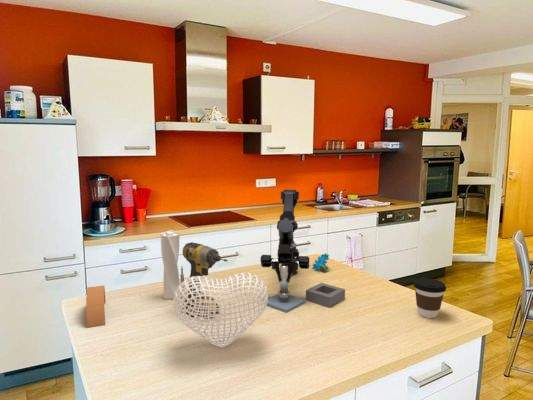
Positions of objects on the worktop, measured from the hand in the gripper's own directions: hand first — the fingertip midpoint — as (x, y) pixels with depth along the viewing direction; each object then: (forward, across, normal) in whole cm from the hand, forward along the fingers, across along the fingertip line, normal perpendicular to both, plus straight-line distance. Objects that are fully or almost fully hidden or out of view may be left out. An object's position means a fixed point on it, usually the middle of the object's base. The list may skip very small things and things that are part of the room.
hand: (283, 282), depth 149 cm
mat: (+6, 0, +7) cm, 9 cm away
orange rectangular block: (+18, -66, -5) cm, 68 cm away
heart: (+30, -16, -17) cm, 38 cm away
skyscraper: (+5, -44, +9) cm, 45 cm away
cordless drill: (+15, -27, -2) cm, 31 cm away
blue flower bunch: (-24, +15, +37) cm, 47 cm away
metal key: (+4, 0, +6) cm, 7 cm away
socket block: (+2, +16, +11) cm, 20 cm away
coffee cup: (+8, +52, +5) cm, 53 cm away
